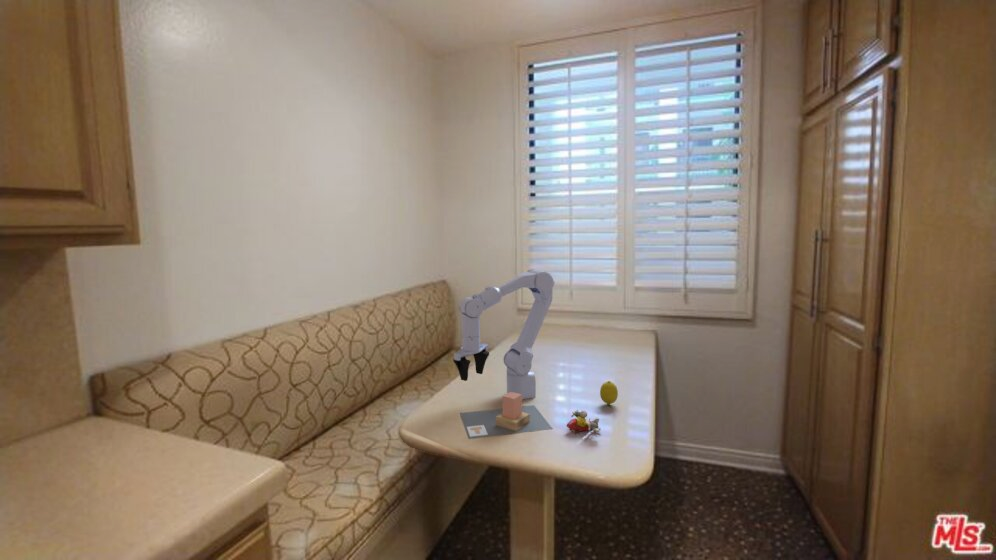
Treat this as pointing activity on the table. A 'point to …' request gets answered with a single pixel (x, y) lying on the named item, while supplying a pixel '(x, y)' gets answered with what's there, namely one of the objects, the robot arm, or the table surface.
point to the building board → (485, 425)
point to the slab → (513, 421)
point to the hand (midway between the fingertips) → (471, 376)
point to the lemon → (608, 392)
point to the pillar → (512, 405)
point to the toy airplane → (582, 423)
